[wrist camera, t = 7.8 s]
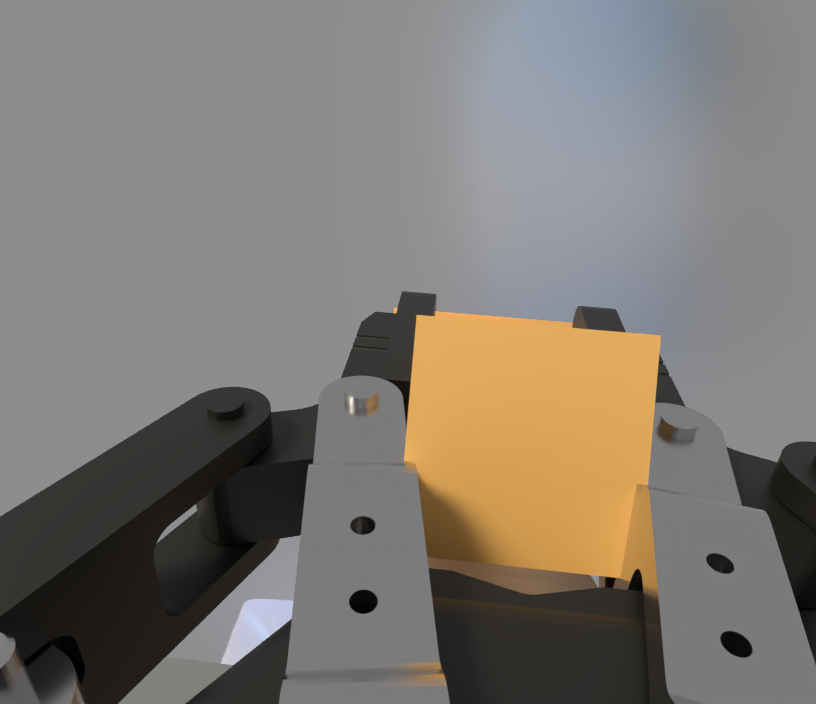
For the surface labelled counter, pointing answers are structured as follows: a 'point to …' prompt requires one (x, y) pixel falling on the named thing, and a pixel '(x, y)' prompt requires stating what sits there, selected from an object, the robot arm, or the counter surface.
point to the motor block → (174, 682)
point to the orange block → (529, 439)
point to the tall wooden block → (517, 576)
